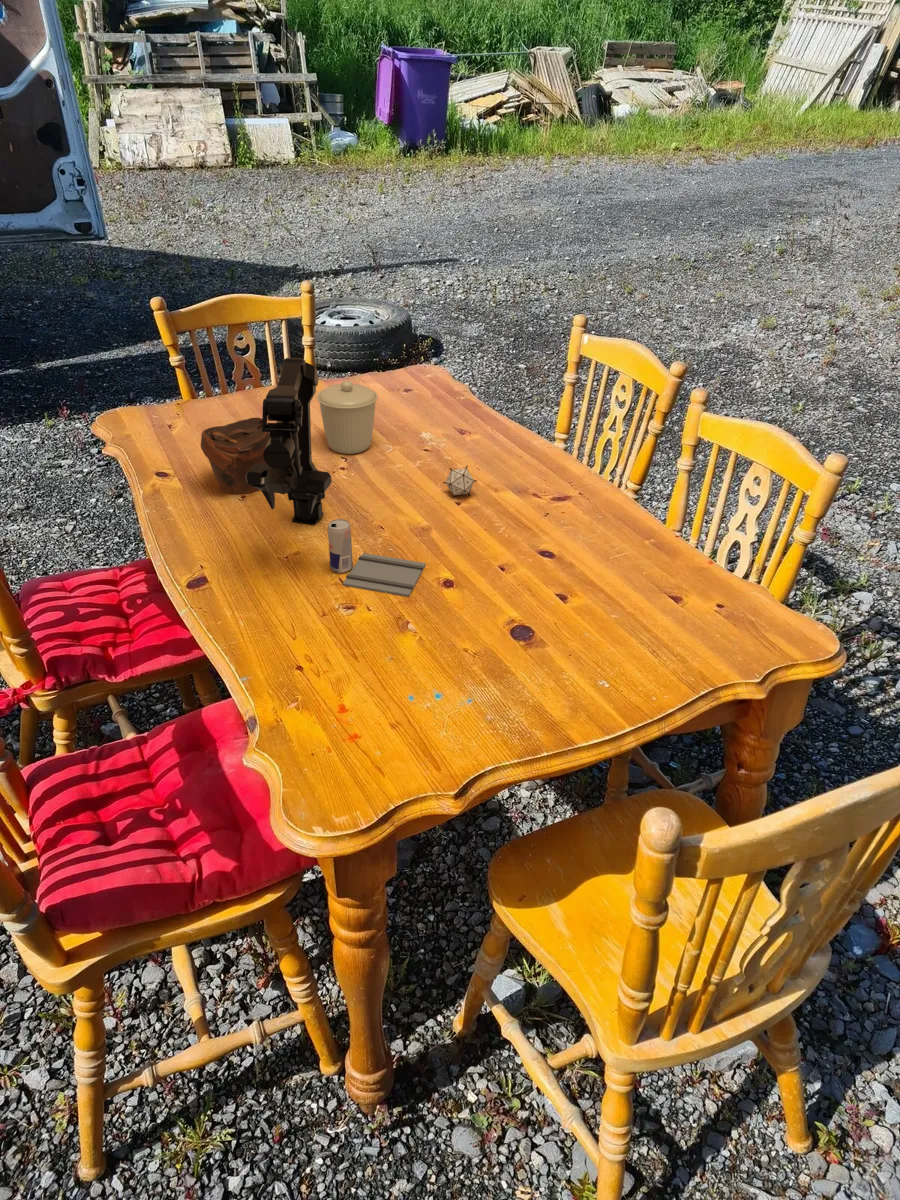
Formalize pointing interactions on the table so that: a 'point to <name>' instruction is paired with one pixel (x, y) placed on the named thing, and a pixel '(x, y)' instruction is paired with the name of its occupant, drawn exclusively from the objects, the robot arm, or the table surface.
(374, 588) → the mat
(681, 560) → the table surface
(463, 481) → the game die
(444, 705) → the table surface
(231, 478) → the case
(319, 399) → the canister
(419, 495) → the table surface
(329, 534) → the energy drink
